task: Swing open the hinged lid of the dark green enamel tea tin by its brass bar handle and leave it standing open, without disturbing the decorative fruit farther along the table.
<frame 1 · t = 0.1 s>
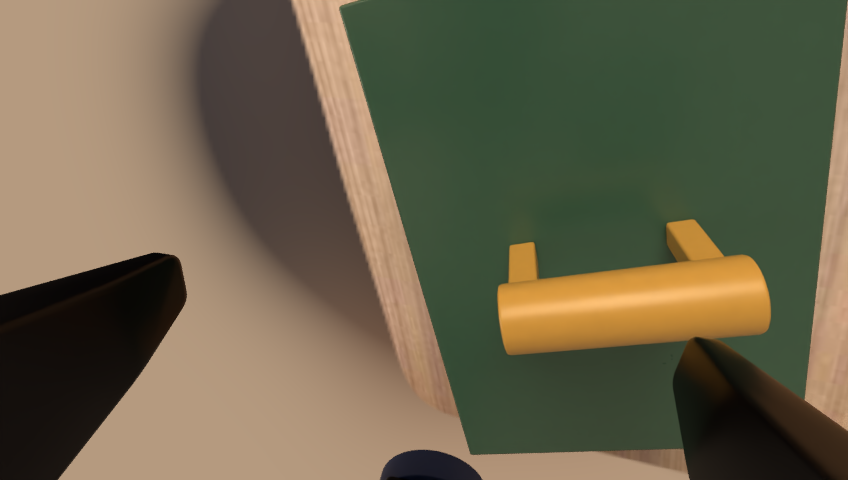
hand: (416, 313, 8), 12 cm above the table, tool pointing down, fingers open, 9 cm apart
tin lid: (610, 286, 12), point 9 cm above the table, hinge at 0.0°
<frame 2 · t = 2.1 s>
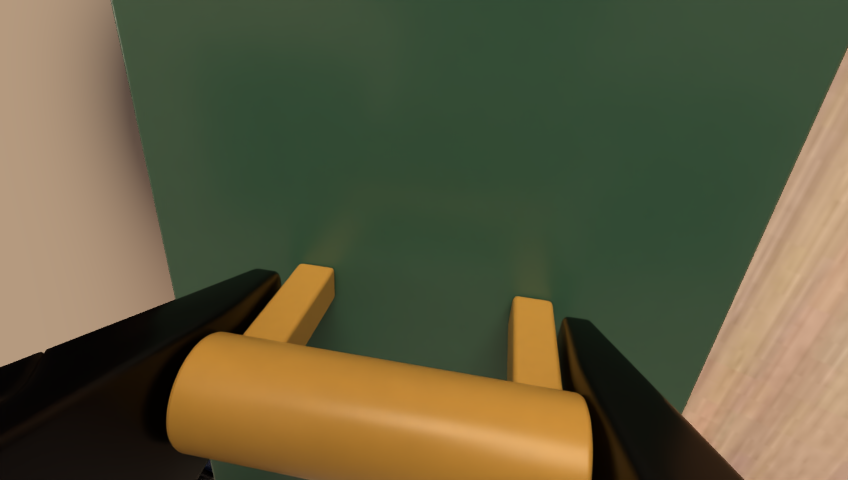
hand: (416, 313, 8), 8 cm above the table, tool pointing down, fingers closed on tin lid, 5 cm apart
tin lid: (402, 369, 8), point 8 cm above the table, hinge at 0.0°, touching gripper
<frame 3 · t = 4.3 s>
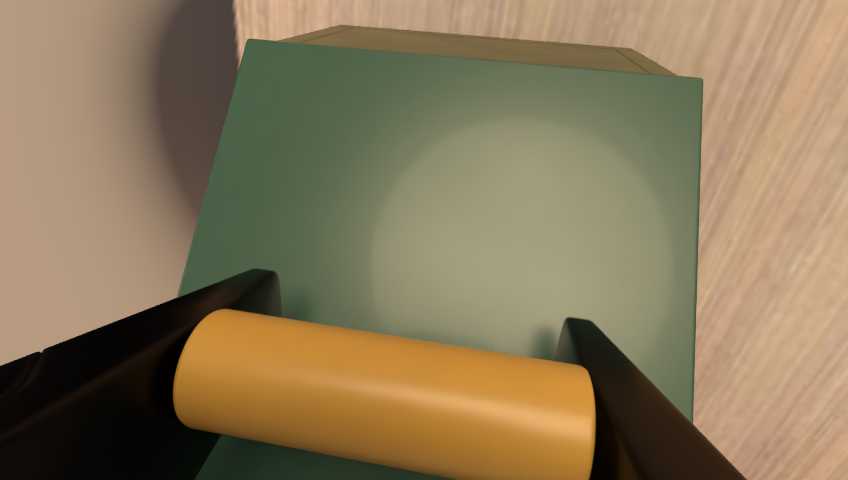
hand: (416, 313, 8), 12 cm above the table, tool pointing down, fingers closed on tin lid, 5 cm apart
tin lid: (395, 415, 8), point 13 cm above the table, hinge at 42.2°, touching gripper
tea tin: (461, 217, 20), on the table
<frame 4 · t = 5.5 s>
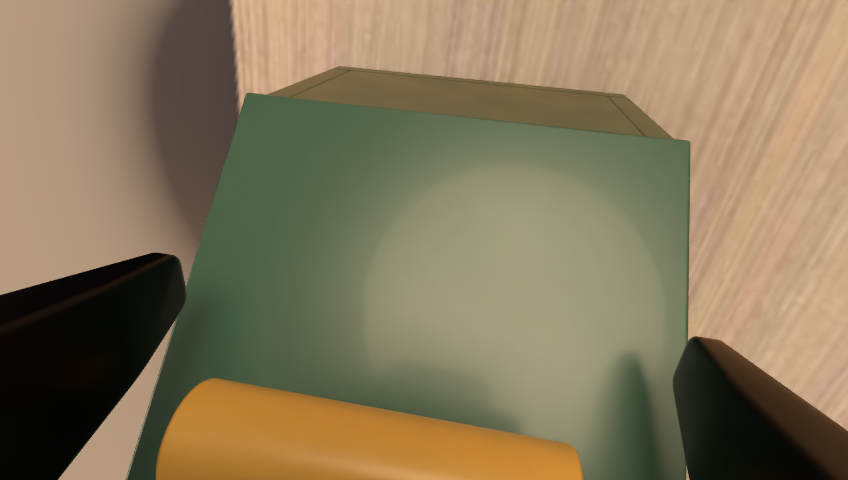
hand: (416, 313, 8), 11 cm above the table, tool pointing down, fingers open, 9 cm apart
tea tin: (456, 253, 20), on the table
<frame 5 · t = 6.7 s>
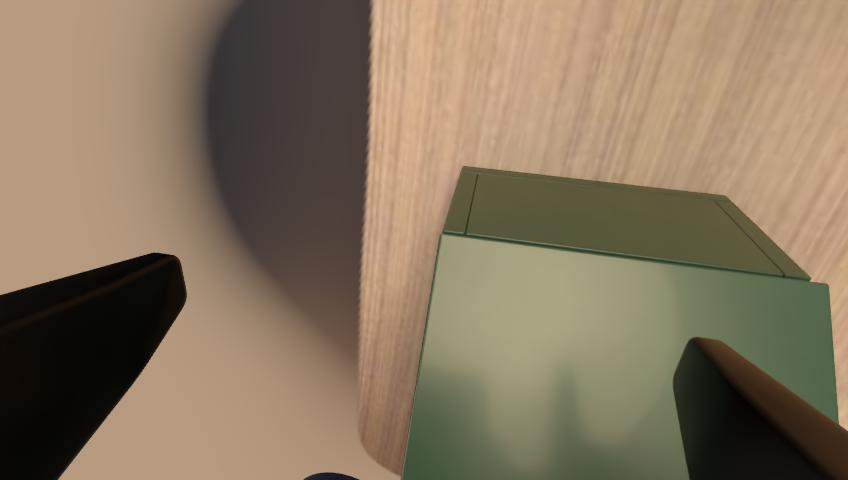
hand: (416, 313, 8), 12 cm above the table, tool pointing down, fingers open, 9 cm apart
tea tin: (556, 321, 23), on the table
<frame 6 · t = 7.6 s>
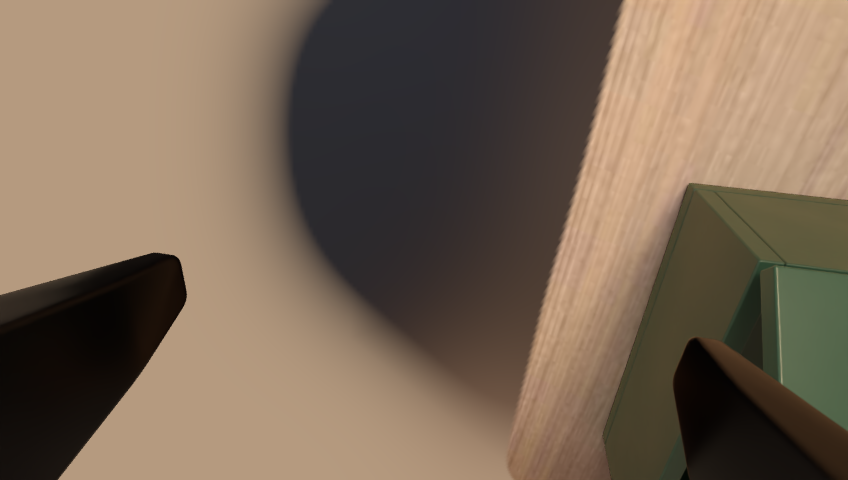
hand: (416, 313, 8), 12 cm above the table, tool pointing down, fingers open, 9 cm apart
tea tin: (758, 345, 21), on the table
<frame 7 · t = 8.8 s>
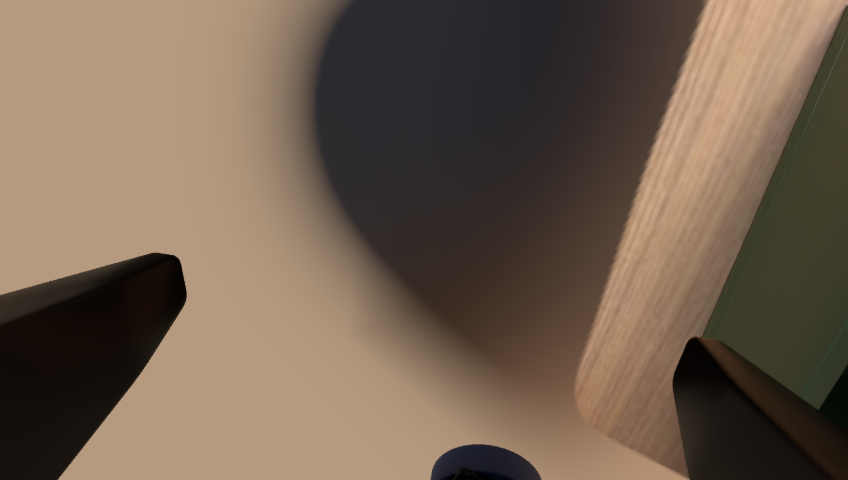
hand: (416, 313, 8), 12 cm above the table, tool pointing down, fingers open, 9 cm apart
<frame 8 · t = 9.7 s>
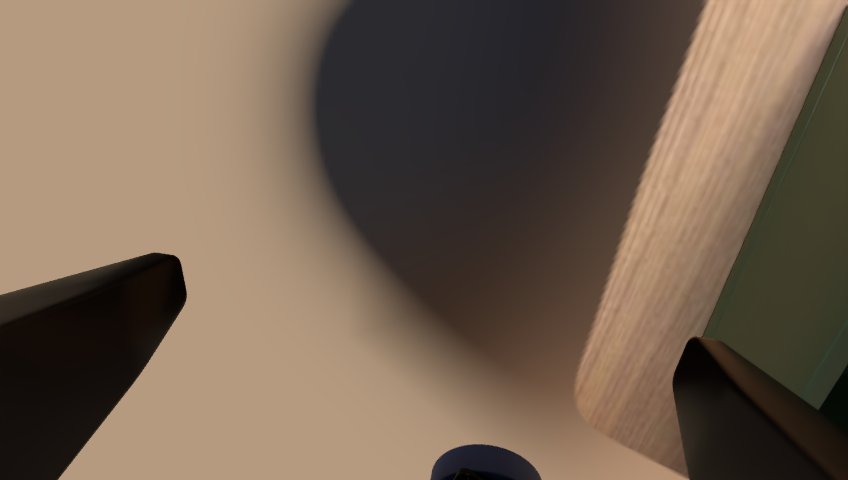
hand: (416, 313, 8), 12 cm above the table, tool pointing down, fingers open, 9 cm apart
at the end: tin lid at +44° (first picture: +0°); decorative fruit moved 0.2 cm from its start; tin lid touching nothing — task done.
